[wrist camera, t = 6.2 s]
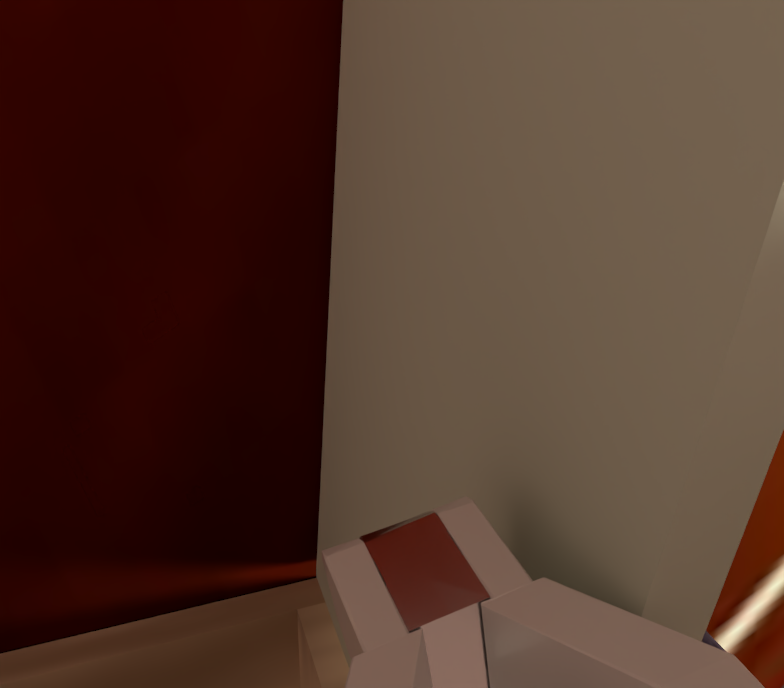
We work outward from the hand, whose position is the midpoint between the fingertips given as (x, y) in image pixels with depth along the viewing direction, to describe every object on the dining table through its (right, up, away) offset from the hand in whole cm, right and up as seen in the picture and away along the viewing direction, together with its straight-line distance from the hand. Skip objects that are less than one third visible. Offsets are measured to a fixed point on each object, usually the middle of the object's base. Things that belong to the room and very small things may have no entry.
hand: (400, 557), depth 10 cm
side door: (-1, +3, +9) cm, 9 cm away
